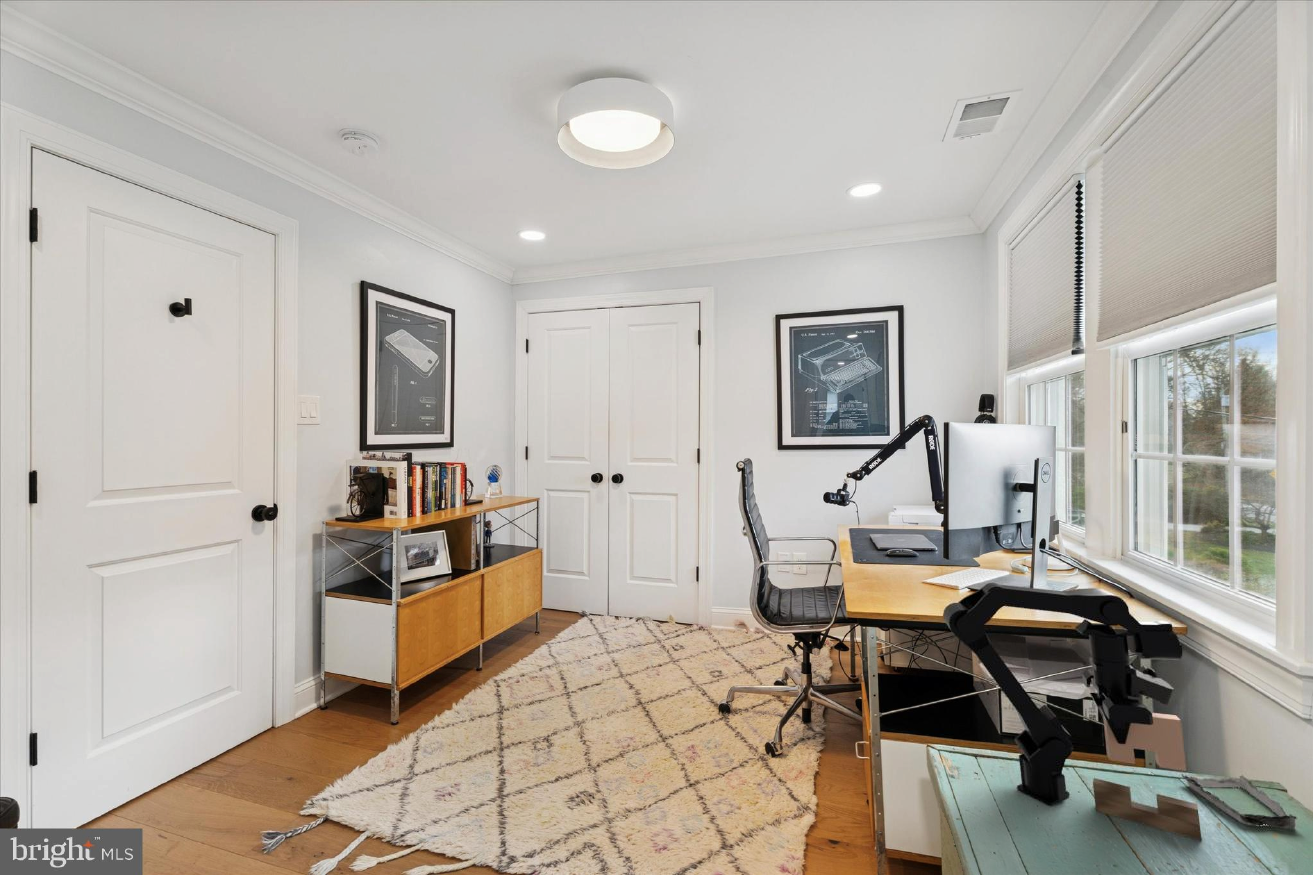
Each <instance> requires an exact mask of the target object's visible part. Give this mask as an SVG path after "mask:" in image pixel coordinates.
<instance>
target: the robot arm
mask: <svg viewBox="0 0 1313 875" xmlns="http://www.w3.org/2000/svg"><path fill="white" fill-rule="evenodd" d="M1004 607H1007V608H1018V609H1019V608H1020V609H1027V610H1035V611H1042V612H1043V611H1044V612H1045V611H1046V612H1053V613H1061V614H1067V615H1073V616H1076V617H1080V618H1082V619H1083V620H1082V621H1081V622H1080V623H1078V624H1077V625H1076V626H1074V629H1075V630H1076V631H1077V632H1078V633H1080V634H1082V635H1083V636H1088V638H1089V639H1088V640H1089V645H1090V646H1089V647H1090V655H1091V656H1089V657H1088V662H1089V664H1090V665H1091V666H1092V669H1088V668H1087V669H1085V670H1084V671H1082V673H1081V677H1082V683H1083V684H1084V686H1085V687H1086V688H1090V687H1091V685H1092V687H1093V688H1094V692H1090V693H1089V695H1090V697H1091V699H1093V702H1094V703H1095V705H1096V707H1097V709H1098V711H1099V713H1100V714H1101V716H1102V717H1103V716H1104V717H1105V719H1106V721H1107V723H1108V725H1109V727H1110V729H1111V731H1112V733H1113V735H1114V737H1115V739H1116V740H1117V742H1118V743H1119V744H1126V740H1127V736H1128V732H1129V728H1130V725H1131V723H1136V724H1145V725H1152V724H1153V717H1152V713H1153V712H1152V711H1151V710H1150V709H1149V708H1148V707H1147V706H1146V705H1145V704H1144V703H1143V702H1141V700H1139V699H1141V696H1145V697H1147V698H1150V699H1153V700H1154V701H1155V700H1156V701H1158V702H1159V703H1161V704H1163V705H1166V706H1168V705H1170V701H1171V699H1172V696H1173V693H1174V690H1175V688H1174V687H1172V685H1171V684H1169V683H1168V682H1167V681H1166V680H1163V679H1162V678H1161V677H1158V675H1157V673H1156V671H1155V670H1154V669H1153V668H1151V667H1148V666H1145V665H1142V666H1141V667H1139V668H1138V669H1135V668H1134V667H1133V666H1132V665H1131V662H1130V661H1131V660H1130V653H1129V652H1131V653H1132V654H1135V656H1136V657H1137V658H1139V659H1141V660H1164V661H1165V660H1170V661H1171V660H1172V661H1175V660H1176V661H1178V660H1181V659H1182V656H1183V654H1184V653H1183V652H1184V651H1183V645H1182V644H1181V642H1180V638H1179V637H1178V635H1177V634H1176V632H1175V631H1174V630H1173V624H1172V623H1170V622H1168V621H1166V620H1156V621H1139V620H1137V619H1136V618H1135V617H1134V616H1133V615H1132V613H1130V611H1129V606H1128V604H1127V602H1126V601H1125V600H1124V599H1123V598H1121V597H1120V596H1117V595H1115V594H1113V593H1111V592H1110V591H1107V590H1105V589H1102V588H1098V587H1094V588H1093V587H1092V588H1075V589H1071V590H1054V589H1044V588H1036V587H1035V588H1034V587H1026V586H1024V587H1023V586H1015V585H1006V584H999V583H997V582H996V583H995V582H989V583H986V584H985V585H984V586H982V587H980V588H979V589H978V590H977V591H974V592H973V593H970V594H968V595H966V596H964V597H963V598H962V599H961V600H959V601H958V602H952V603H949V604H948V605H947V606H946V607H945V608H944V610H943V613H942V618H943V620H944V622H945V624H946V625H947V626H948V629H950V631H951V632H952V633H953V634H954V636H955V637H956V638H957V639H959V640H960V641H961V642H962V643H963V644H964V646H966V647H967V648H968V649H969V650H970V651H971V652H972V653H974V655H975V656H976V657H977V658H978V660H979V661H980V662H981V664H982V665H983V666H984V668H985V670H987V672H988V674H989V675H990V676H991V677H992V679H993V680H994V681H995V682H996V684H997V686H999V688H1000V689H1001V691H1002V692H1003V694H1004V695H1005V697H1006V698H1007V699H1008V701H1009V702H1010V703H1011V705H1012V706H1013V707H1014V709H1015V710H1016V712H1017V715H1018V717H1019V719H1020V722H1021V724H1022V726H1023V727H1024V730H1023V731H1022V732H1020V734H1018V735H1017V736H1016V737H1015V738H1014V741H1015V743H1016V745H1017V747H1018V749H1019V750H1020V751H1021V752H1022V753H1021V754H1019V755H1018V761H1019V762H1018V763H1019V769H1020V770H1019V771H1020V779H1021V783H1020V784H1018V785H1016V789H1017V790H1018V791H1020V792H1022V793H1024V794H1026V795H1028V796H1030V797H1032V798H1034V799H1036V800H1038V801H1040V802H1042V803H1044V804H1046V805H1048V806H1053V805H1055V804H1057V803H1059V802H1061V801H1062V800H1065V799H1066V798H1067V797H1069V796H1070V795H1071V794H1070V792H1069V791H1068V790H1067V785H1066V776H1065V774H1063V770H1064V766H1065V763H1066V760H1067V759H1068V758H1069V757H1070V756H1071V755H1072V754H1073V753H1072V752H1073V750H1074V746H1073V743H1072V741H1071V740H1070V738H1071V739H1072V735H1071V734H1070V733H1069V732H1068V730H1067V729H1066V728H1065V727H1064V726H1063V725H1062V724H1061V722H1060V719H1059V718H1058V716H1056V715H1055V713H1054V712H1053V711H1052V710H1051V709H1050V708H1049V707H1048V705H1046V704H1043V705H1042V706H1041V707H1039V706H1038V705H1037V704H1036V703H1035V702H1034V701H1033V699H1032V697H1031V696H1030V695H1029V694H1028V693H1027V691H1026V690H1025V688H1024V687H1023V686H1022V684H1021V683H1020V682H1019V681H1018V679H1017V678H1016V677H1015V675H1014V673H1013V672H1012V671H1011V669H1009V668H1010V667H1008V666H1007V664H1006V663H1005V661H1004V660H1003V658H1001V657H1000V655H999V653H998V652H997V650H995V648H994V647H993V644H992V643H991V641H990V638H989V636H988V634H987V631H986V630H985V628H984V625H986V624H987V623H989V622H990V621H991V620H992V618H993V617H994V616H995V615H996V613H997V612H998V611H999V610H1001V609H1002V608H1004ZM1091 621H1092V622H1095V623H1092V622H1091ZM1113 626H1115V627H1113ZM1117 626H1120V627H1121V628H1119V627H1117ZM1116 627H1117V628H1116ZM1129 697H1131V698H1129ZM1132 698H1133V699H1132ZM1135 698H1138V699H1135Z"/></svg>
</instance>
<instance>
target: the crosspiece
mask: <svg viewBox="0 0 1313 875" xmlns="http://www.w3.org/2000/svg"><path fill="white" fill-rule="evenodd" d="M1151 713H1152V717H1153V724H1152V725H1145V724H1136V723H1131V725H1130V728H1129V732H1128V736H1127V740H1126V744H1119V743H1118V742H1117V740H1116V739H1115V737H1114V735H1113V733H1112V731H1111V729H1110V727H1109V725H1108V723H1107V721H1106V719H1105V717H1104V716H1102V718H1103V728H1104V738H1105V747H1106V748H1105V749H1106V755H1107V757H1108V760H1109V761H1114V762H1119V763H1125V764H1134V765H1135V764H1136V761H1135V760H1136V759H1135V750H1141V751H1142V750H1143V751H1151V752H1154V758H1155V763H1156V764H1157V766H1158V767H1159V768H1163V769H1169V770H1170V769H1171V770H1178V771H1185V772H1186V771H1187V765H1186V757H1185V754H1186V753H1185V747H1184V746H1185V745H1184V737H1183V736H1184V735H1183V729H1182V720H1181V719H1180V718H1179V717H1178V716H1177V715H1175V714H1167V713H1166V714H1165V713H1159V712H1151ZM1134 749H1135V750H1134Z"/></svg>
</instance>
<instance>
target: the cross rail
mask: <svg viewBox="0 0 1313 875" xmlns="http://www.w3.org/2000/svg"><path fill="white" fill-rule="evenodd" d="M1092 787H1093V788H1092V789H1093V795H1094V803H1095V804H1094V806H1095V812H1099V813H1103V814H1106V815H1109V816H1114V817H1117V818H1120V819H1123V820H1127V821H1132V822H1134V823H1138V824H1143V825H1145V826H1148V827H1152V828H1155V829H1156V828H1157V829H1160V830H1161V831H1162V830H1163V831H1167V832H1170V833H1174V834H1177V835H1180V836H1184V837H1187V838H1191V839H1194V840H1197V841H1201V842H1202V839H1203V838H1202V831H1201V822H1200V816H1199V807H1198V806H1199V805H1198V803H1196V802H1191V801H1187V800H1183V799H1179V798H1176V797H1175V798H1174V797H1172V796H1168V795H1164V794H1159V793H1156V795H1155V796H1156V805H1157V807H1155V806H1151V805H1148V804H1143V803H1140V802H1137V801H1133V800H1132V794H1131V787H1130V786H1126V785H1123V784H1119V783H1116V782H1111V781H1107V780H1104V779H1101V778H1096V777H1093V780H1092Z"/></svg>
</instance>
